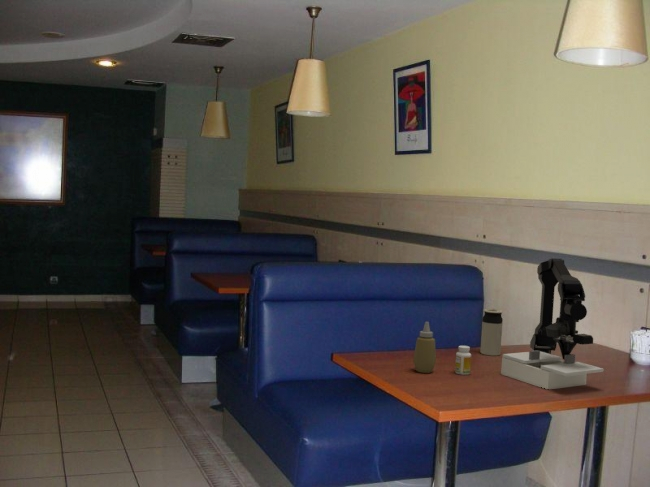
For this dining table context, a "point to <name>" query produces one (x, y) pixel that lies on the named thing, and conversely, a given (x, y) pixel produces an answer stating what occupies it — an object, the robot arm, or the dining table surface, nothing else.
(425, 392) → the dining table surface
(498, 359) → the dining table surface
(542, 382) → the carton
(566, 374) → the flap
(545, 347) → the robot arm
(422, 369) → the squeeze bottle
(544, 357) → the flap
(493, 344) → the travel mug
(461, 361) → the supplement bottle
